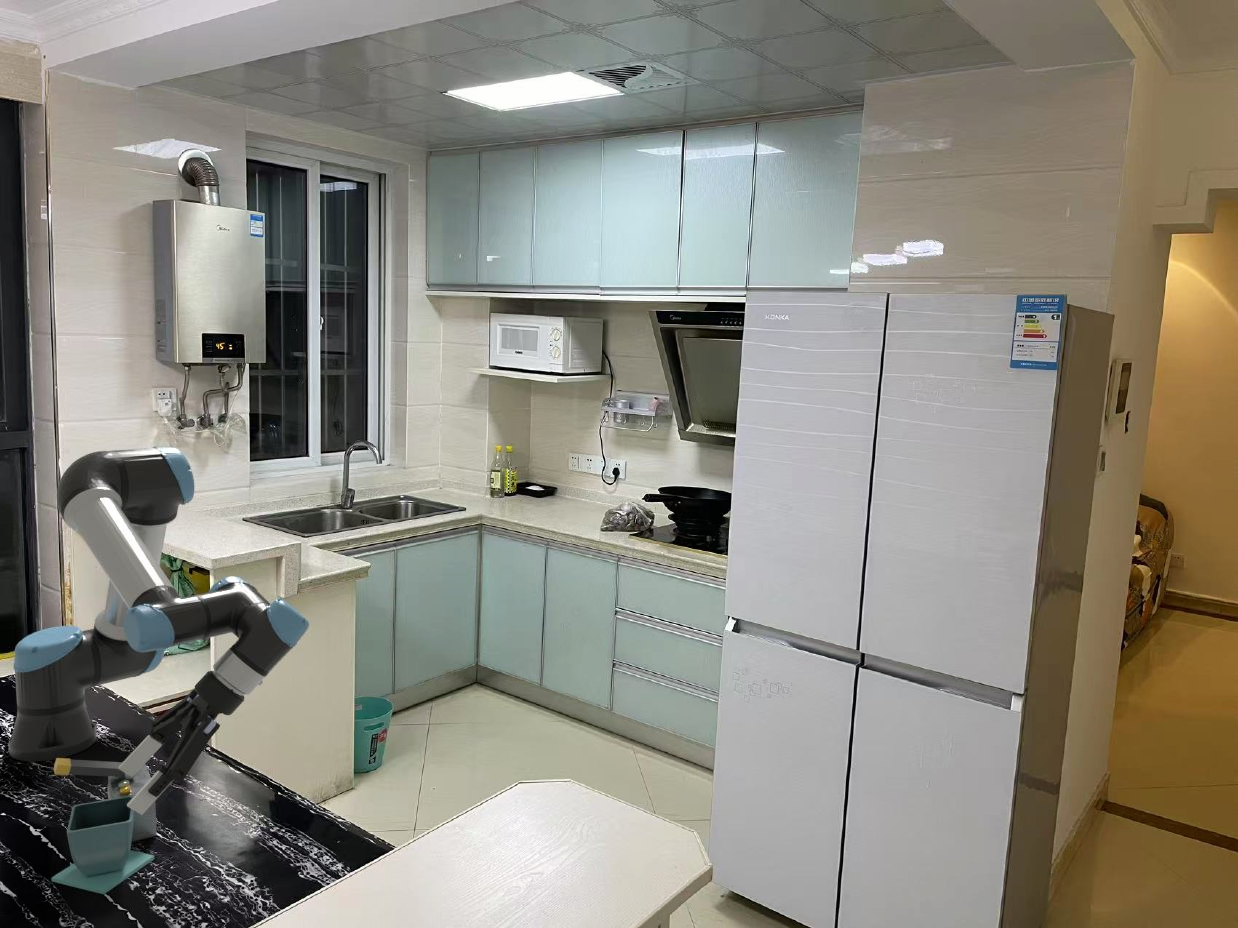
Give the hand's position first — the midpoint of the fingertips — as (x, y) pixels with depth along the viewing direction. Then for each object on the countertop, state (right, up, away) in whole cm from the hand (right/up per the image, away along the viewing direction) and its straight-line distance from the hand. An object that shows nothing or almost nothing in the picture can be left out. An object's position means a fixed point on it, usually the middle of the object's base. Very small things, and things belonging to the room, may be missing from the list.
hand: (129, 790), depth 146 cm
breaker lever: (-7, -1, +13) cm, 15 cm away
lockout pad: (-4, -12, 0) cm, 13 cm away
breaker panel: (-6, -10, +13) cm, 17 cm away
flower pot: (-4, -12, 0) cm, 13 cm away
